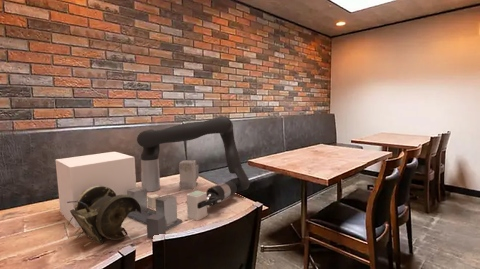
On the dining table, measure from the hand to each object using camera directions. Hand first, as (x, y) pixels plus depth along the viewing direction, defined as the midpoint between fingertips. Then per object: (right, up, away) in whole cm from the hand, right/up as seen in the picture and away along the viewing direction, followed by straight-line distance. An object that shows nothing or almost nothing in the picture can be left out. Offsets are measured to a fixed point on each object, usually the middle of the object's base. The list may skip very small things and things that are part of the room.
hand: (192, 204), depth 109 cm
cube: (-44, -6, +10) cm, 45 cm away
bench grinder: (-30, -8, -13) cm, 34 cm away
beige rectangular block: (-21, -5, +15) cm, 26 cm away
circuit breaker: (-9, -1, +44) cm, 45 cm away
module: (+2, -6, +3) cm, 7 cm away
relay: (-11, -8, -13) cm, 19 cm away
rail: (-17, -6, +1) cm, 18 cm away
